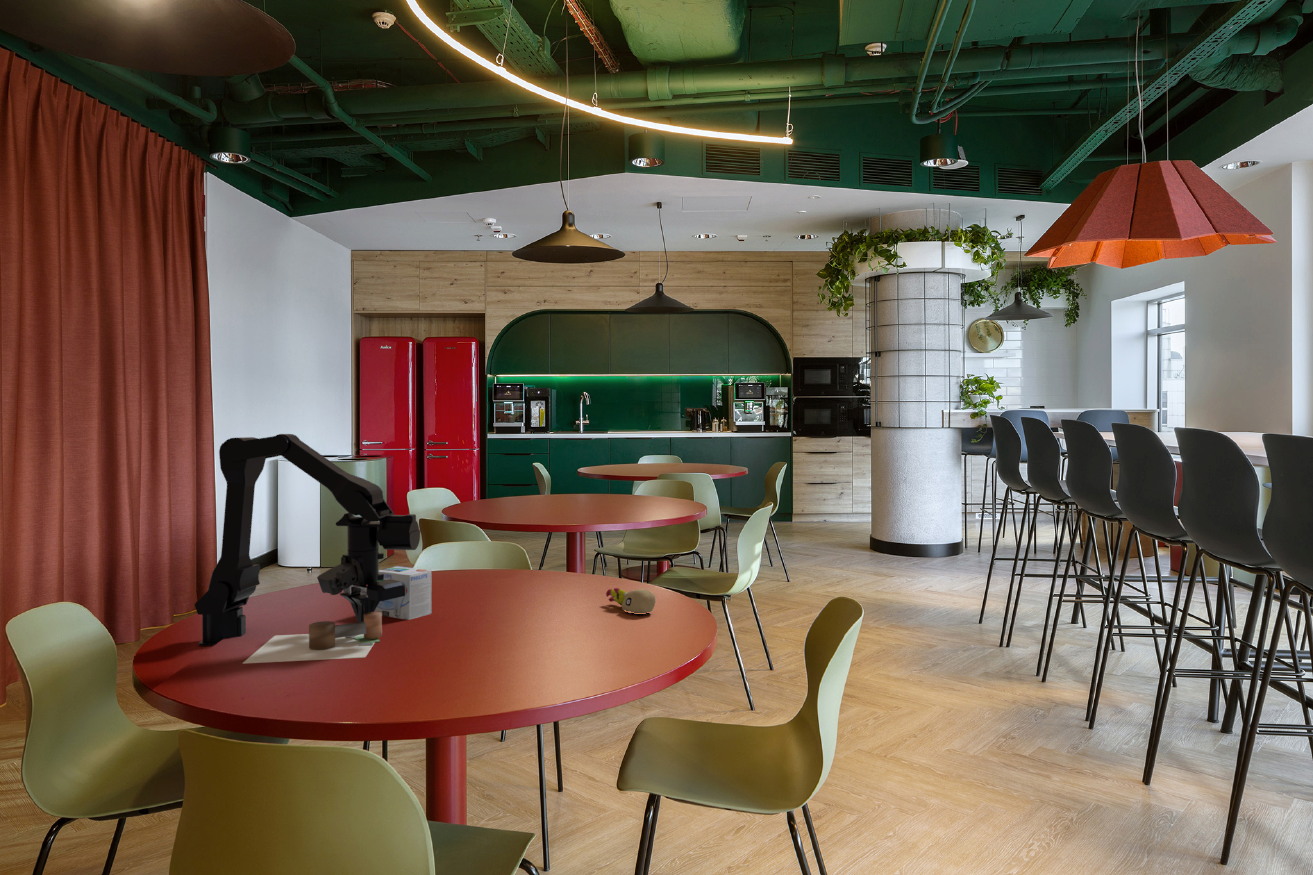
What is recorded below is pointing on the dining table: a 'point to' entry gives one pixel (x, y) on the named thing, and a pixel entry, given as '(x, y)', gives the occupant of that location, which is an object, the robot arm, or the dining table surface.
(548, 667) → the dining table surface
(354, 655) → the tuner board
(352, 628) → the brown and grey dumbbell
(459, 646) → the dining table surface
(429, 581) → the light bulb box
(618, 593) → the toy
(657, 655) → the dining table surface
